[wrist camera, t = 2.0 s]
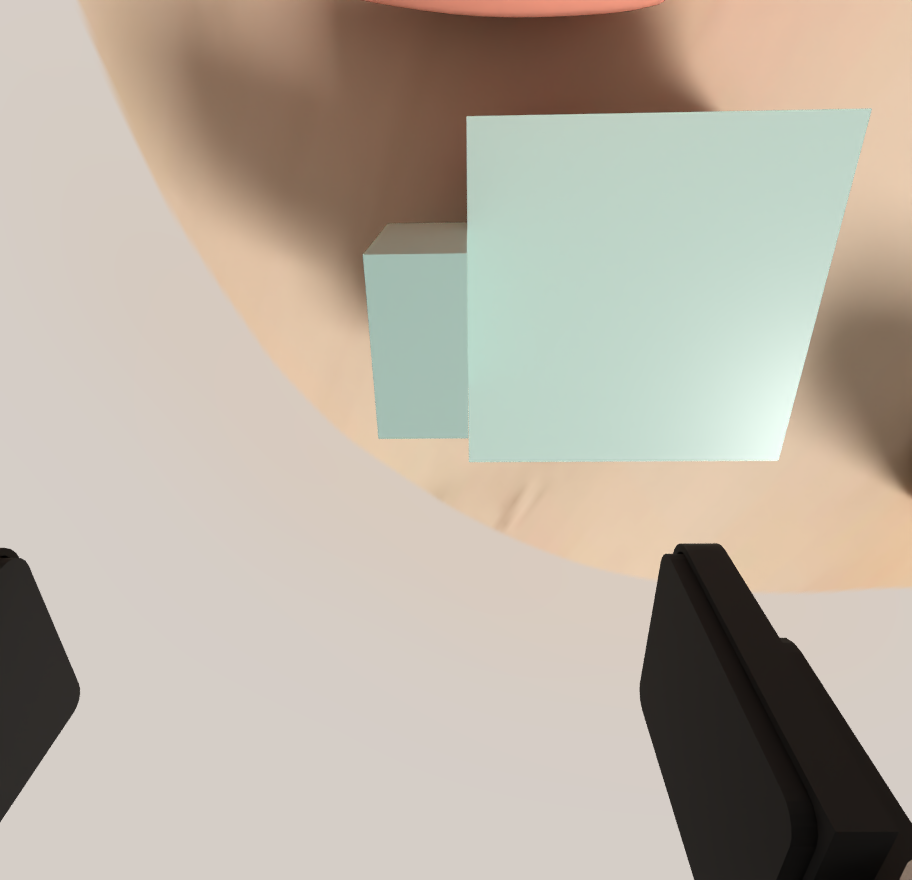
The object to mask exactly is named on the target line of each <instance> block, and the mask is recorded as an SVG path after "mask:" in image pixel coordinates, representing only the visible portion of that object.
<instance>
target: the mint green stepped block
mask: <svg viewBox="0 0 912 880" xmlns="http://www.w3.org/2000/svg"><path fill="white" fill-rule="evenodd" d="M871 110H872V109H823V110H770V111H717V112H664V113H611V114H559V115H506V116H466V120H467V222H450V223H388V224H387V225H386V226H385V227H384V229H383V230H382V231H381V232H380V234H379V235H378V236H377V237H376V239H375V240H374V241H373V242H372V244H371V245H370V246H369V248H368V249H367V250H366V251H365V253H364V254H363V263H364V275H365V286H366V298H367V310H368V321H369V333H370V345H371V356H372V368H373V379H374V391H375V403H376V414H377V426H378V438H379V439H417V438H468V388H469V462H603V461H778V460H779V456H780V453H781V449H782V445H783V441H784V438H785V434H786V430H787V426H788V423H789V419H790V415H791V411H792V408H793V404H794V400H795V396H796V392H797V389H798V385H799V381H800V377H801V374H802V370H803V366H804V362H805V359H806V355H807V351H808V347H809V344H810V340H811V336H812V332H813V329H814V325H815V321H816V317H817V313H818V310H819V306H820V302H821V298H822V295H823V291H824V287H825V283H826V280H827V276H828V272H829V268H830V265H831V261H832V257H833V253H834V249H835V246H836V242H837V238H838V234H839V231H840V227H841V223H842V219H843V216H844V212H845V208H846V204H847V201H848V197H849V193H850V189H851V185H852V182H853V178H854V174H855V170H856V167H857V163H858V159H859V155H860V152H861V148H862V144H863V140H864V137H865V133H866V129H867V125H868V122H869V118H870V114H871Z"/></svg>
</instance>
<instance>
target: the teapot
mask: <svg viewBox="0 0 912 880" xmlns="http://www.w3.org/2000/svg"><path fill="white" fill-rule="evenodd" d="M362 1H368V2H374V3H379V4H385V5H391V6H397V7H403V8H410V9H417V10H423V11H431V12H439V13H448V14H457V15H470V16H484V17H557V16H578V15H594V14H607V13H616V12H624V11H633V10H637V9H641V8H646V7H650V6H654V5H658V4H660V3H662V2H664V1H665V0H362Z"/></svg>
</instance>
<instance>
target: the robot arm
mask: <svg viewBox="0 0 912 880" xmlns="http://www.w3.org/2000/svg"><path fill="white" fill-rule="evenodd" d="M79 696H80V687H79V683H78V681H77V678H76V676H75V674H74V671H73V669H72V667H71V664H70V662H69V660H68V657H67V655H66V653H65V650H64V648H63V645H62V643H61V641H60V638H59V636H58V634H57V631H56V629H55V627H54V624H53V622H52V620H51V617H50V615H49V613H48V610H47V608H46V605H45V603H44V601H43V598H42V596H41V594H40V591H39V589H38V587H37V584H36V582H35V580H34V577H33V575H32V572H31V570H30V568H29V566H28V564H27V563H26V561H25V560H23V559H21V558H19V557H18V555H17V554H16V553H15V552H14V551H12V550H11V549H7V548H0V822H1V820H2V819H3V817H4V816H5V814H6V813H7V811H8V810H9V808H10V807H11V805H12V804H13V802H14V801H15V799H16V798H17V796H18V795H19V793H20V792H21V790H22V789H23V787H24V786H25V784H26V783H27V781H28V780H29V778H30V777H31V775H32V774H33V772H34V771H35V769H36V768H37V766H38V765H39V763H40V762H41V760H42V759H43V757H44V756H45V754H46V753H47V751H48V750H49V748H50V747H51V745H52V744H53V742H54V741H55V739H56V738H57V736H58V735H59V733H60V732H61V730H62V729H63V727H64V726H65V724H66V723H67V721H68V720H69V719H70V717H71V715H72V714H73V712H74V711H75V709H76V707H77V704H78V701H79ZM640 701H641V706H642V711H643V714H644V717H645V721H646V724H647V727H648V730H649V733H650V737H651V740H652V743H653V747H654V750H655V753H656V756H657V760H658V763H659V766H660V769H661V773H662V776H663V779H664V782H665V786H666V789H667V792H668V795H669V799H670V802H671V805H672V808H673V812H674V815H675V818H676V822H677V824H678V828H679V831H680V835H681V838H682V841H683V844H684V848H685V851H686V854H687V857H688V861H689V864H690V867H691V870H692V874H693V877H694V880H912V823H911V822H910V820H909V818H908V817H907V816H906V814H905V812H904V811H903V809H902V808H901V806H900V805H899V803H898V801H897V800H896V798H895V797H894V795H893V794H892V792H891V791H890V789H889V787H888V786H887V784H886V783H885V781H884V780H883V778H882V777H881V775H880V774H879V772H878V771H877V769H876V767H875V766H874V764H873V763H872V761H871V760H870V758H869V756H868V755H867V753H866V752H865V750H864V749H863V747H862V746H861V744H860V742H859V741H858V739H857V738H856V737H855V735H854V733H853V732H852V730H851V729H850V727H849V725H848V724H847V722H846V721H845V719H844V718H843V716H842V715H841V713H840V711H839V710H838V708H837V707H836V705H835V704H834V702H833V701H832V699H831V697H830V696H829V694H828V693H827V691H826V690H825V688H824V687H823V685H822V683H821V682H820V680H819V679H818V677H817V676H816V674H815V673H814V671H813V670H812V668H811V666H810V665H809V663H808V662H807V660H806V659H805V657H804V656H803V654H802V652H801V651H800V650H799V649H798V648H797V646H796V645H795V644H794V643H793V642H792V641H790V640H788V639H787V638H779V636H778V635H777V633H776V631H775V630H774V628H773V627H772V625H771V624H770V622H769V620H768V619H767V617H766V615H765V614H764V612H763V611H762V609H761V607H760V606H759V604H758V602H757V601H756V599H755V598H754V596H753V594H752V593H751V591H750V590H749V588H748V586H747V585H746V583H745V581H744V580H743V578H742V577H741V575H740V573H739V572H738V570H737V569H736V567H735V565H734V564H733V562H732V560H731V559H730V557H729V556H728V554H727V552H726V551H725V549H724V548H723V547H722V546H721V545H719V544H678V545H677V546H676V548H675V549H674V553H673V554H665V555H663V557H662V560H661V564H660V570H659V576H658V582H657V587H656V593H655V599H654V605H653V611H652V617H651V622H650V628H649V634H648V640H647V646H646V652H645V658H644V663H643V669H642V675H641V681H640Z"/></svg>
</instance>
